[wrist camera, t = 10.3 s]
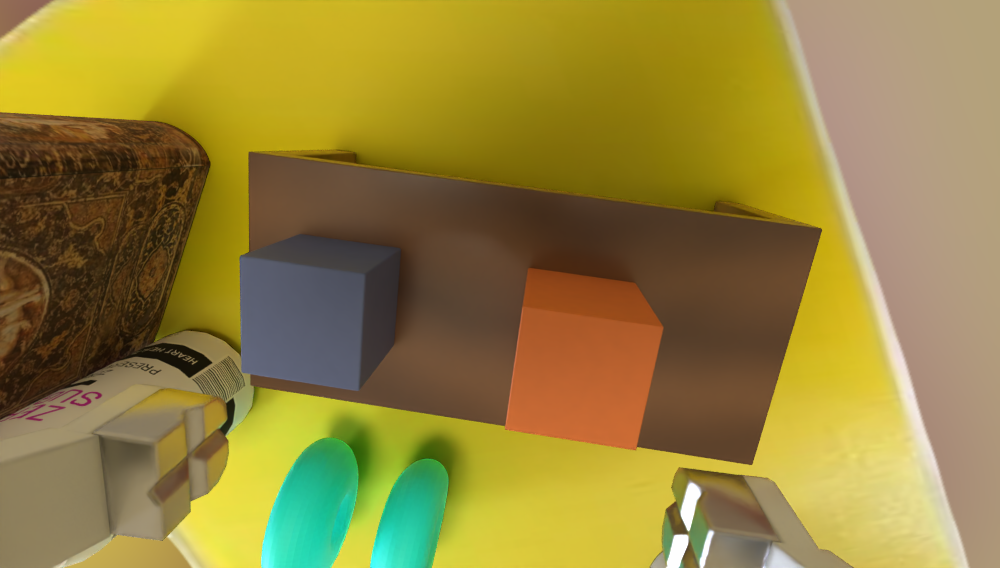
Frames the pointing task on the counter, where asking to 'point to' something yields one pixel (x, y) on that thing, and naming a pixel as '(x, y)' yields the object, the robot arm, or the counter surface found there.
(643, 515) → the counter surface
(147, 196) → the book
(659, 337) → the orange box
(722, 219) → the shelf
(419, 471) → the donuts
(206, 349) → the supplement can
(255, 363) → the slate-blue box
